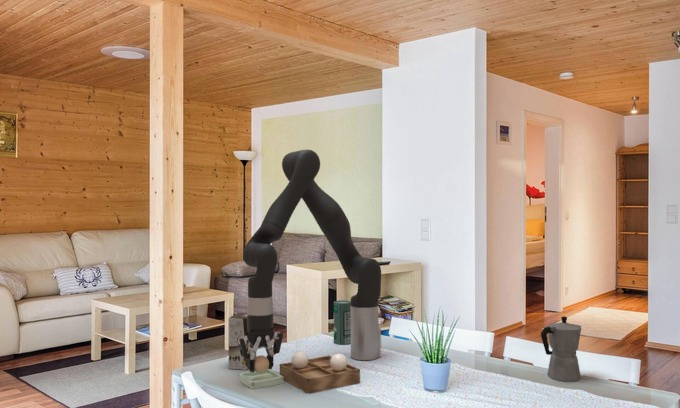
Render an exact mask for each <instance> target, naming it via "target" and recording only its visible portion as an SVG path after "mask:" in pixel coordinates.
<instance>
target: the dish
mask: <svg viewBox="0 0 680 408" xmlns="http://www.w3.org/2000/svg"><path fill="white" fill-rule="evenodd" d="M237 380H238V381H239V382H240V383H242V385H243V384H244V385H245V386H247V387H248V388H249V389H251V390H254V389H261V388H265V387H271V386H276V385H280V384H284V383H285V380H284V377H283V376H282V375H280V373H278V372H276V371H275V370H273V369H268V370H267V371H265V372H264V373H257V372H255V371H254V372H250V371H246V372H240V373H237Z"/></svg>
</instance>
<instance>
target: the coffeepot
mask: <svg viewBox="0 0 680 408" xmlns="http://www.w3.org/2000/svg"><path fill="white" fill-rule="evenodd" d="M560 318H561V322H555V323H550V324H548V325H547V326H545V327H543V328H542V331H541V332H540V337H541V341H542V343H543V348H544V351H545V354H546V355H548V356H550V357H549V358H550V359H549V364H548V369H547V373H546V374H547V377H549V378H550V379H552V380H554V381H560V382H566V383H567V382H568V383H570V382H571V383H572V382H578V381H580V379H581V378H582V376H581V371H580V365H579V358H578V356H577V351H578V350H579V344H580V338H581V332H582V325H579V324H574V323H570V322H567V320H568V317H567V316H564V315H563V316H561V317H560ZM547 335H548V336H547ZM548 340H549V342H548ZM550 348H551V350H552V351H551V350H550Z"/></svg>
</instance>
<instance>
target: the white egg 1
mask: <svg viewBox="0 0 680 408" xmlns="http://www.w3.org/2000/svg"><path fill="white" fill-rule="evenodd" d="M308 359H309V355H307V353H305V352H304V351H296V352H294V354H293V355H292V356H291V361H290V362H292V364H293V366H294V367H295V368H297V369H302V368H304V367H306V365H307V364H308Z"/></svg>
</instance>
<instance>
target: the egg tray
mask: <svg viewBox="0 0 680 408" xmlns="http://www.w3.org/2000/svg"><path fill="white" fill-rule="evenodd" d="M331 358H332V356H331V355H325V356H319V357H314V358H308V364H307V365H306V367H304V368H302V369H297V368H295V367H294V366H293V364H292V361H290V362H284V363H280V364H279V374H280V375H282V376H283V377H284V382H285V381H286V382H287V383H289V384H291V385H293V386H294V387H296V388H297V389H299V390H301V391H303V392H304V393H306V394H311V393H316V392H321V391H326V390H330V389H335V388H341V387H345V386H350V385H354V384H355V383H356V384H360V383H361V369H360V368H358V367H356V366H353V365H351V364H349V363H347V366H346V368H345V369H344V370H342V371H335V370H333V369H332V367H331V365H330V360H331ZM356 384H355V385H356Z"/></svg>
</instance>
